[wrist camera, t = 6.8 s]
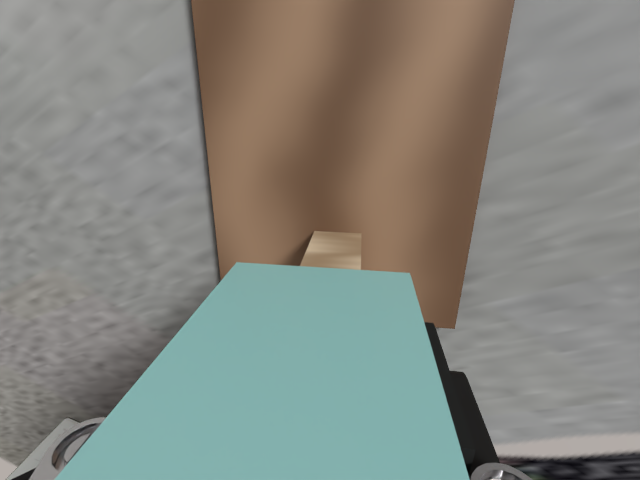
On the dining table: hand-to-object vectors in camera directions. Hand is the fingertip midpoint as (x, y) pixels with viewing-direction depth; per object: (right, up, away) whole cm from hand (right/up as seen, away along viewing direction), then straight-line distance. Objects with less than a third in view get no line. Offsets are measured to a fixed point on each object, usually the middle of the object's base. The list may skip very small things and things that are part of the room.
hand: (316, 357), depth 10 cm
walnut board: (+1, +8, +6) cm, 10 cm away
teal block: (0, 0, +1) cm, 1 cm away
